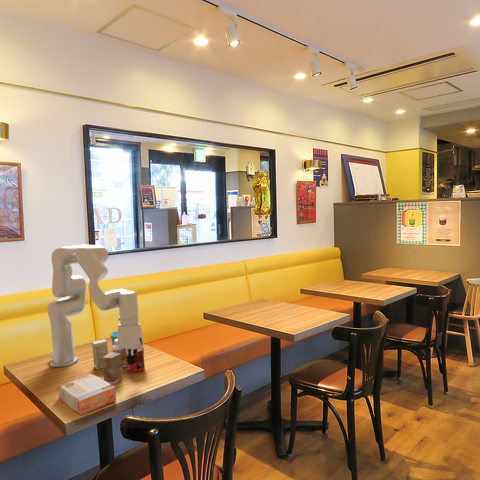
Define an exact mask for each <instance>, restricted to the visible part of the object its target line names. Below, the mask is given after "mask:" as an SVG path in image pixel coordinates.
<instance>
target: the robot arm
mask: <svg viewBox="0 0 480 480" xmlns="http://www.w3.org/2000/svg"><path fill="white" fill-rule="evenodd" d="M50 259H51V265H52V283H51V293H52V295H53V297H55V298H58V299H54V300H52V301H50V302H49V303H48V305H47V307H46V311H47V314H48V315H47V316H48V318H49V324H50V332H51V343H52V344H51V345H52V351H51V352H50V354H49V355H48V358H50V359H51V361H50V362H49V364H50V366H51V367H54V368H63V367H67V366H71V365H74V364H76V363H77V362H78V361H79V357H78V356H76V355H75V347H74V346H75V345H74V331H73V325H72V323H71V322H70V320H69V319H68V318H69V317H73V316H75V315H76V316H77V315H80V314H81V313H83V312H84V311H85V306H86V299H87V298H86V296H87V282H86V279H85V278H84V277H83V276H82V275H79V274H77V275H76V274H75V275H73V268H72V265H76V264H79V266H80V268H81V269H82V270H83V272H84V274H86V276H87V277H88V279H89V283H88V294H89V298H90V299H91V301H93V303H94V304H95V306H96V307H97V309H99V310H101V311H102V312H103V311H109V310H114V309H116V308H118V309H119V317H118V319H117V321H119V324H118V327H117V331H118V347H119V348H120V349H122V350H124V351H125V352H126V355H128V364H129V365H130V364H131V365H133V364H134V363H136V353H137V352H139V351H142V350H143V349H144V335H143V330H142V325H141V322H140V321H139V320H140V319H139V306H138V293H137V292H136V291H134V290H126V289H123V288H118V289H114V290H108V291H105V292H104V291H103V290H102V288H101V287H100V285H99V283H100V282H101V281H103V280H104V279H105V278H106V277H107V275H108V273H109V271H108V268H107V267H106V264H104V263H106V262H107V261H108V259H109V252H108V250H107V248H106V247H105V246H103V245H100V244H99V245H97V244H80V245H70V246H69V245H68V246H62V247H58V248H55V249H54V250H53V251H52V253H51V258H50ZM142 346H143V348H142Z"/></svg>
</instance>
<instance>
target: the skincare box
mask: <svg viewBox="0 0 480 480" xmlns="http://www.w3.org/2000/svg"><path fill="white" fill-rule="evenodd" d="M91 343H92V344H91V345H92V355H93V356H92V357H93V366H94V368H95V370H98V369H103V360H102V357H104V356H106V355H107V354H109V347H108V341H107V340H106V339H105V338H104V339H99V340H95V341H92V342H91Z"/></svg>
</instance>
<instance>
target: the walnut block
mask: <svg viewBox="0 0 480 480" xmlns="http://www.w3.org/2000/svg"><path fill="white" fill-rule="evenodd" d="M102 360H103V368H102V373H103V375H102V376H103V380H104V381H106V382H108V383H109V384H113V383H114V384H115V383H116V382H118V381H120V380H121V379H123V368H122V362H121V353H113V351H112V352H108V354H107V355H106V356H104V357H102Z"/></svg>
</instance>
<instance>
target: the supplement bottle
mask: <svg viewBox="0 0 480 480" xmlns="http://www.w3.org/2000/svg"><path fill="white" fill-rule="evenodd" d="M114 343H115V345H114V346H113V345H112V352H113V353H121V362H122V369H123V368H127V361H126V352H125V351H124V350H122V349H120V348H119V347H118V339H115V340H114Z"/></svg>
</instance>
